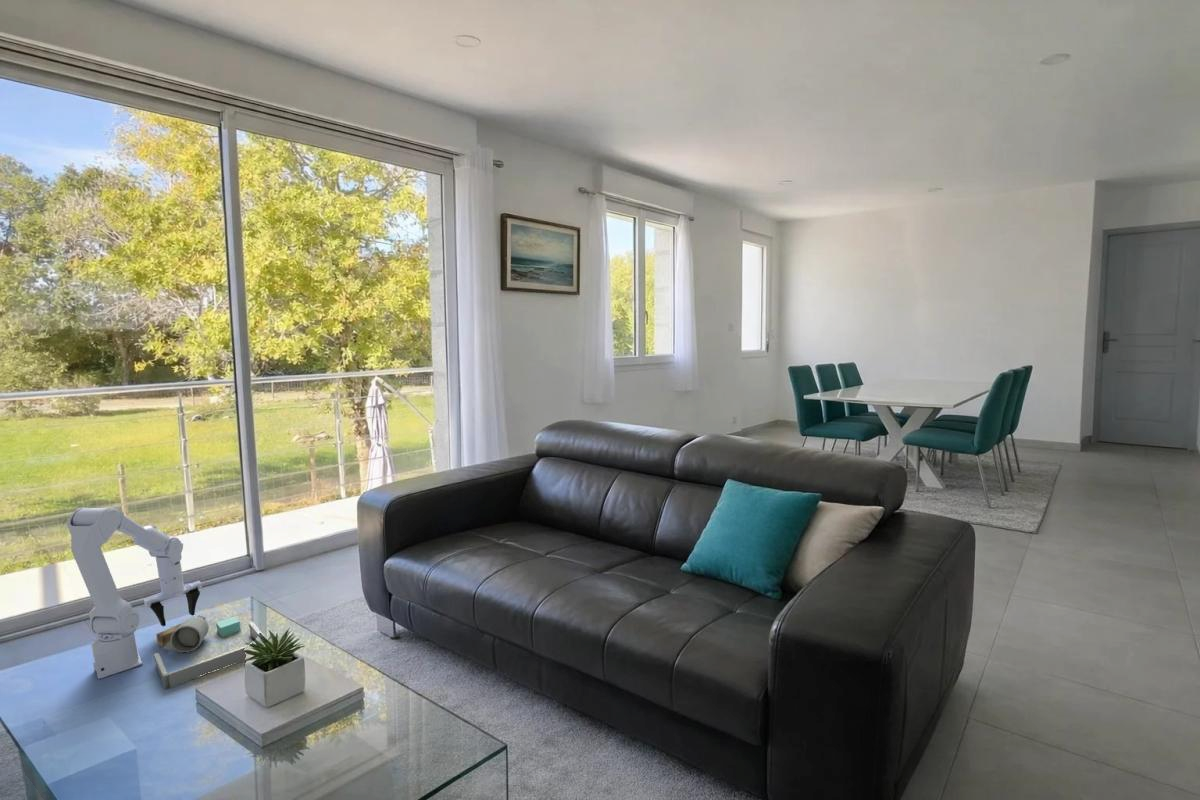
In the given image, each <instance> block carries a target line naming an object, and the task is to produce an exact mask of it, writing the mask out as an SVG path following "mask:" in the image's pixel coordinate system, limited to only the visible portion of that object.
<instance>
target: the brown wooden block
mask: <svg viewBox="0 0 1200 800" xmlns="http://www.w3.org/2000/svg"><path fill="white" fill-rule="evenodd" d="M196 617H201V618H203V619H205V620H206V617H205V616H202V615H197V616H196ZM182 623H183V622H181V623H179V624H177V625H174V626H172V627H170V628H168V629H165V630H163V631H161V632H158V633H156V641H157V645H158V646H160V647H162V648H164V646H165V645H166V644H167V643H168V642H169V641H170V638H171V635H172V634H173V632H174V631H175V630H176V629H177V628H178V627H179V626H180V625H181V624H182Z"/></svg>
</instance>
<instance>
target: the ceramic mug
mask: <svg viewBox="0 0 1200 800" xmlns="http://www.w3.org/2000/svg"><path fill="white" fill-rule="evenodd" d="M181 623H182V624H181ZM181 623H180V624H181V625H180V626H179V627H178V628H177V629H176V630H175V631H174V632H173V634H172V635H171V638H170V641H169V642H168V643H167V644H166V645H165V646H164V647H163V649H164V651H166V652H170V651H172V650H174V651H177V652H178V653H183V652H187V653H191V652H193V651H195V650H197V648H199V646H200V645H201V644H202V643H203V641H204V639H205V638H206V636H207V635H208V632H209V623H208V622H207V619H206V618H205V619H203V618H201V617H197V616H192V617H191V616H190V617H189V618H187V619H186V620H184V621H182V622H181ZM190 651H191V652H190Z"/></svg>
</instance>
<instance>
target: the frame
mask: <svg viewBox="0 0 1200 800" xmlns="http://www.w3.org/2000/svg"><path fill="white" fill-rule="evenodd" d="M248 627H249V632H250V635H251V637H252V636H253V637H252V639H254V638H257V636H258V634H259V633H262V634H263V632H262V631H261V629H259V627H258V626H257V625H256V623H254V621H250V622H248ZM250 644H251V643H250ZM250 644H247V645H244V646H242V647H238V648H236V649H233V650H230V651H227V652H224V653H221V654H219V655H216V656H212V657H210V658H208V659H204V660H202V661H199V662H196V663H193V664H190V665H187V666H185V667H181V668H179V669H175V670H173V671H170V672H168V671H167V669H166V667H165V664H164V662H163V660H162V658H161V656H160V654H159V652H157V653H154V654H153V657H154V662H155V667H156V670H157V673H158V675H159V677H160V680H161V682H162V684H163V686H164V689H165V690H169V689H171V688H174V687H176V686H179V685H182V684H185V683H187V682H186V681H188V680H190V681H192V680H191V679H193V678H196V677H198V676H200V675H203V674H205V673H208V672H212V671H214V670H217V669H220V668H223V667H225V666H228V665H231V664H234V663H237V664H239V663H242V662H245V661H246V660H245V658H246V654H245V652H244V649H245V648H246V647H247V646H249V645H250ZM244 660H245V661H244ZM234 665H235V664H234ZM231 666H232V665H231ZM223 669H224V668H223ZM220 670H221V669H220ZM212 673H213V672H212ZM198 678H199V677H198ZM196 679H197V678H196ZM193 680H194V679H193ZM184 682H185V683H184ZM188 682H189V681H188Z"/></svg>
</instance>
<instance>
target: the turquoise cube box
mask: <svg viewBox="0 0 1200 800" xmlns="http://www.w3.org/2000/svg"><path fill="white" fill-rule="evenodd" d="M240 623H241V622H240V620H239V619H238V618H237V616H232V617H231V616H230V617H229V618H226V619H222V620H220V621H217V622H215V624H216V630H217V632H218V634H219V635H220V636H222V638H223V637H226V636H229V635H233V634H234V632H235V633H237V631H238V632H240V630H241V631H242V629H241V624H240Z"/></svg>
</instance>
